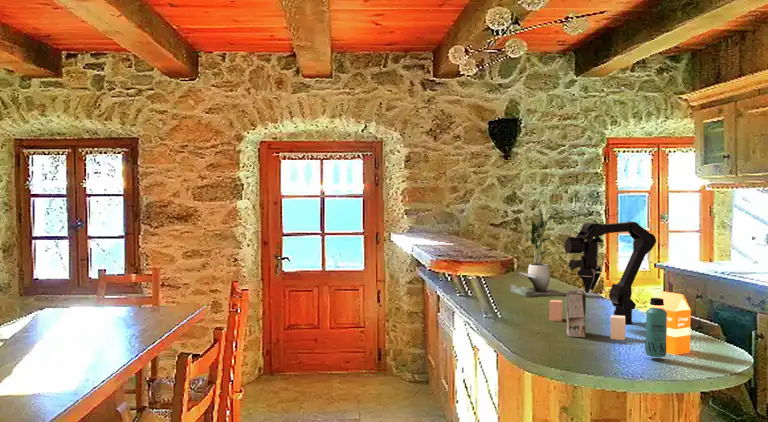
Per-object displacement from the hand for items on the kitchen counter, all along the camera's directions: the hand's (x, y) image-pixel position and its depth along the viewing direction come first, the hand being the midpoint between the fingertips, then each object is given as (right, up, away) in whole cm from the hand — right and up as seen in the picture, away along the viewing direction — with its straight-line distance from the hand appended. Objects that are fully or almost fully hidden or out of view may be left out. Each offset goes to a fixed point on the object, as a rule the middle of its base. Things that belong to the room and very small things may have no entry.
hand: (589, 291), depth 262 cm
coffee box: (-11, -14, -18) cm, 26 cm away
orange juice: (+14, -15, -42) cm, 47 cm away
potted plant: (-3, -11, +78) cm, 79 cm away
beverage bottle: (+4, -16, -54) cm, 56 cm away
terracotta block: (-11, -13, +10) cm, 20 cm away
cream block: (+3, -14, -24) cm, 28 cm away
